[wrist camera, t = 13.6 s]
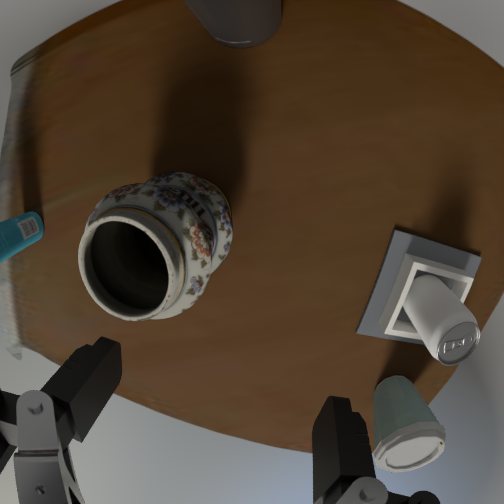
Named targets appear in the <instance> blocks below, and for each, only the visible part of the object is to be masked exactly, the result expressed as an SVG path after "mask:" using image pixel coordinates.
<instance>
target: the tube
mask: <svg viewBox="0 0 504 504" xmlns="http://www.w3.org/2000/svg"><path fill="white" fill-rule="evenodd" d="M43 232H44V226H43V222H42V220H41V217H40V216H39V215H38V214H37V213H36V212H33V211H31V212H28V213H25V214H22V215H19V216H16V217H14V218H11V219H8V220H5V221H3V222H0V263H1V262H3V261H4V260H6V259H8V258H9V257H11V256H12V255H14V254H16V253H17V252H19V251H20V250H22V249H24V248H25V247H27V246H29V245H31V244H32V243H34V242H36V241H38V240H39V239H41V238H42V236H43Z"/></svg>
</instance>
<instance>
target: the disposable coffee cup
mask: <svg viewBox="0 0 504 504" xmlns="http://www.w3.org/2000/svg"><path fill="white" fill-rule="evenodd" d="M373 401H374V452H373V456H374V459H375V462H376V464H377V467H379V468H382V469H384V470H387V471H389V472H406V471H410V470H413V469H416V468H420V467H423V466H424V465H426V464H428V463H430V462H431V461H433V460H435V459H436V458H437V457H438V456H439V455H440V454H441V453H442V452H443V451H444V450H445V437H446V436H445V435H446V434H445V429H444V427H443V426H442V425H441V424H440V423H439V422H438V420H437V419H436V417H435V416H434V414H433V413H432V411H431V410H430V408H429V407H428V405H427V404H426V402H425V401H424V399H423V398H422V396H421V395H420V394H419V392H418V391H417V389H416V388H415V386H414V385H413V383H412V382H411V381H410V380H408V379H407V378H406V377H404V376H398V375H394V376H391V377H388V378H386V379H384V380H383V381H382V382H380V383H379V384H378V385H377V387H376V389H375V392H374V395H373Z"/></svg>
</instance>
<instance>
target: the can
mask: <svg viewBox="0 0 504 504" xmlns="http://www.w3.org/2000/svg"><path fill="white" fill-rule="evenodd" d="M403 308H404V310H405V312H406V313H407V315H408V317H409V318H410V320H411V322H412V323H413V325H414V327H415V328H416V330H417V332H418V333H419V335H420V337H421V338H422V340H423V342H424V344H425V345H426V347H427V349H428V350H429V352H430V353H431V355H432V356H433V357H434V358H435V359H437V360H439V362H440V363H442V364H443V365H446V366H453V365H456V364H459V363H461V362H463V361H464V360H466V359H467V358H468V357H469V356H470V355H471V354H472V353H473V352H474V350H475V349H476V347H477V346H478V343H479V340H480V329H479V327H478V326H477V321H476V319H475V317H474V315H473V314H472V313H471V312H470V311H469V310H468V308H467V307H466V306H465V305H464V304H463V303H462V302H461V301H460V300H459V299H458V298H457V297H456V296H455V294H454V293H453V292H452V291H451V290H450V289H449V288H448V287H447V286H446V285H445V284H444V283H443V282H442V281H441V280H440V279H439V278H437V277H436V276H434V275H422V276H419V277H417V278H416V279H414V280H413V281H412V284H411V286H410V289H409V291H408V294H407V296H406V298H405V301H404V303H403Z"/></svg>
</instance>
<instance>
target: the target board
mask: <svg viewBox="0 0 504 504" xmlns="http://www.w3.org/2000/svg"><path fill="white" fill-rule="evenodd" d="M481 259H482V257H480V256H478V255H475V254H472V253H469V252H466V251H463V250H460V249H457V248H454V247H451V246H448V245H445V244H442V243H438V242H435V241H432V240H429V239H426V238H423V237H419V236H416V235H413V234H409V233H406V232H403V231H399V230H396V229H394V230H393V233H392V236H391V239H390V242H389V245H388V248H387V251H386V254H385V257H384V260H383V263H382V265H381V268H380V271H379V274H378V276H377V279H376V282H375V284H374V287H373V290H372V292H371V295H370V297H369V300H368V303H367V305H366V308H365V310H364V312H363V315H362V317H361V320H360V322H359V324H358V327H357V329H356V333H357V334H362V335H368V336H374V337H379V338H385V339H391V340H397V341H403V342H409V343H416V344H422V345H425V344H424V342H423V340H422V338H421V337H420V335H419V333H418V332H417V330H416V328H415V327H414V325H413V323H412V322H411V320H410V318H409V317H408V315H407V313H406V312H405V310H404V308H403V303H404V301H405V298H406V296H407V294H408V291H409V289H410V286H411V284H412V281H413V280H414V279H416V278H417V277H419V276H422V275H434V276H436V277H437V278H439V279H440V280H441V281H442V282H443V283H444V284H445V285H446V286H447V287H448V288H449V289H450V290H451V291H452V292H453V293H454V294H455V296H456V297H457V298H458V299H459V300H460V301H461V302H462V303H464V301H465V299H466V296H467V294H468V292H469V289H470V287H471V285H472V282H473V280H474V277H475V274H476V272H477V269H478V266H479V264H480V261H481Z"/></svg>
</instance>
